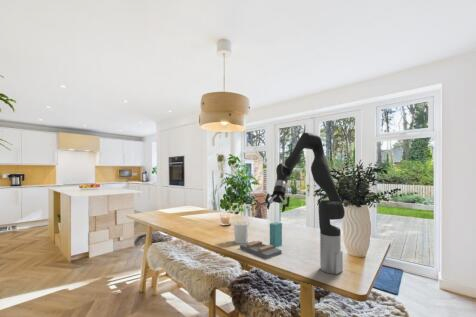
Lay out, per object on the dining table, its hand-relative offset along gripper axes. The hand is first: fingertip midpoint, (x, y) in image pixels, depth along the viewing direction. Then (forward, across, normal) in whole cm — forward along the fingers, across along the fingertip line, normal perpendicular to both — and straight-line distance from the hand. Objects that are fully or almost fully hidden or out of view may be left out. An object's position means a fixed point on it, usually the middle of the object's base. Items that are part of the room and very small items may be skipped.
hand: (275, 210), depth 143 cm
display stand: (+19, -6, +16) cm, 26 cm away
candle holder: (+11, -21, +27) cm, 36 cm away
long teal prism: (+10, +2, +24) cm, 26 cm away
